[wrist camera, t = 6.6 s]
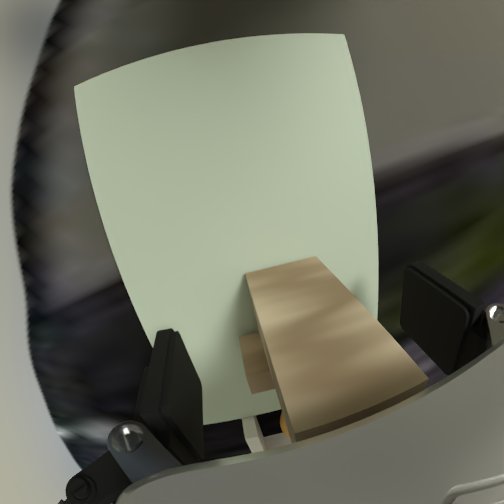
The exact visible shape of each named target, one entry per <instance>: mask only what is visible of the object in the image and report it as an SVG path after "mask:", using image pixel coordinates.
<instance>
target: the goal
mask: <svg viewBox="0 0 504 504" xmlns="http://www.w3.org/2000/svg"><path fill="white" fill-rule="evenodd" d="M242 423H243V429H244V435H245V440H246V442H247V444H248V446H249V448H250V450H251V452H252V453H255V452H259V451H264V450H268V449H272V448H276V447H280V446H284V445H288V444H292V442H291V439H289V438H288V437H287V436H286V435H285V434H284V433H279V434H275V435H270V436H266V437H263V434H262V431H261V429H260V426H259V423H258V420H257V418H256V415H255V416H250V417H246V418H242Z"/></svg>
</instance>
